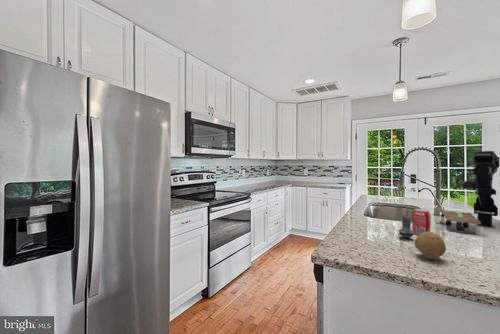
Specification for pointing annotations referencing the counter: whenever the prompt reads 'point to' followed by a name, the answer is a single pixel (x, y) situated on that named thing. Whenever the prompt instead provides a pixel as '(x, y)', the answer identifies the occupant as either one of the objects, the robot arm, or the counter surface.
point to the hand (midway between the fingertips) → (482, 205)
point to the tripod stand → (459, 227)
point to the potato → (430, 245)
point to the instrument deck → (460, 217)
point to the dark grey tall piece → (406, 229)
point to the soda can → (421, 221)
